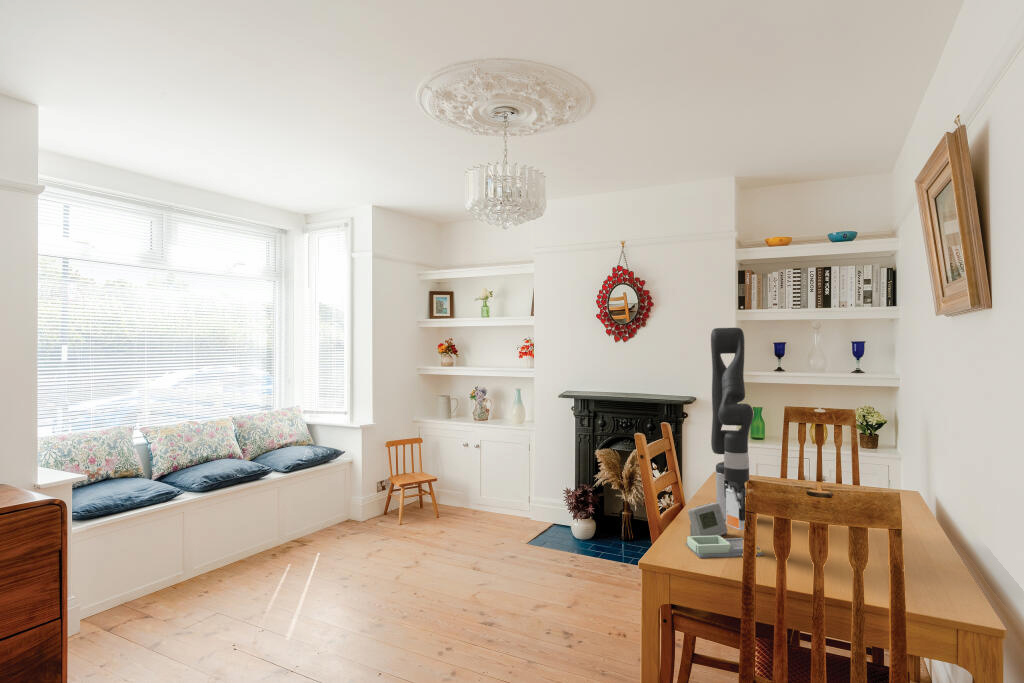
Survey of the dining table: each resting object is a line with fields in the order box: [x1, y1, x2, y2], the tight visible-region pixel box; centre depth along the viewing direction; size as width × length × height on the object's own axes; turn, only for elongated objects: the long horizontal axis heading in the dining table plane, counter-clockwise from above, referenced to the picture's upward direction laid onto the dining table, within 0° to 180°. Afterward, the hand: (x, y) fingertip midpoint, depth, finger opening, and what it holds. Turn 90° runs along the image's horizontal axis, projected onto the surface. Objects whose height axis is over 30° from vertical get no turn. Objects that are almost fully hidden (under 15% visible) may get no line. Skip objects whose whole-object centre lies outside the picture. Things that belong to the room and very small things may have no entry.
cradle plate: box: [727, 540, 743, 548], centre depth 186 cm, size 7×7×1 cm
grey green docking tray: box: [685, 535, 765, 559], centre depth 185 cm, size 12×21×3 cm, turn 94°
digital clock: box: [687, 502, 728, 537], centre depth 199 cm, size 16×9×11 cm, turn 114°
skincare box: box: [725, 489, 745, 531], centre depth 186 cm, size 6×4×12 cm
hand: (737, 516), depth 186 cm, fingers closed on skincare box, 7 cm apart
